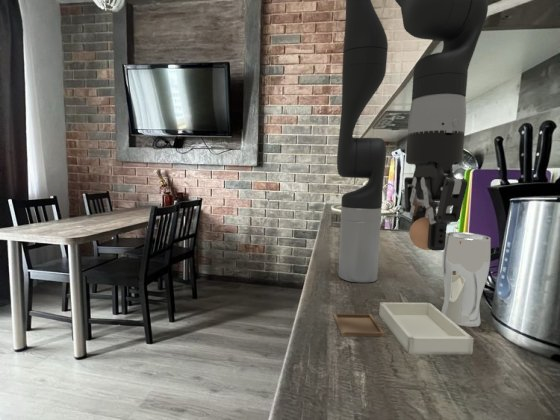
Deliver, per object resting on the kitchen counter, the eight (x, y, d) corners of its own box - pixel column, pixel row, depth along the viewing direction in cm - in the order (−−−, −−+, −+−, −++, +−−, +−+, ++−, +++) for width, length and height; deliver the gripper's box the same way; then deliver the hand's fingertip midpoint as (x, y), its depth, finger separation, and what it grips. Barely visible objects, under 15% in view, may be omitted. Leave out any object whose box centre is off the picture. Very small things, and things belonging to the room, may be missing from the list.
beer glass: (442, 307, 60) (449, 230, 58) (485, 318, 55) (494, 235, 53) (433, 320, 54) (440, 235, 52) (480, 334, 50) (489, 242, 48)
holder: (333, 318, 54) (333, 313, 54) (370, 318, 55) (370, 313, 55) (341, 338, 48) (341, 333, 48) (384, 338, 48) (384, 333, 48)
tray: (378, 316, 55) (379, 302, 55) (428, 316, 56) (430, 302, 55) (408, 356, 43) (409, 338, 43) (472, 356, 44) (473, 338, 43)
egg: (402, 245, 50) (405, 214, 50) (433, 246, 50) (435, 215, 50) (417, 253, 45) (419, 219, 45) (451, 254, 46) (454, 220, 45)
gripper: (391, 136, 53) (385, 235, 55) (435, 123, 39) (425, 257, 41) (435, 137, 53) (427, 236, 55) (494, 125, 39) (481, 258, 41)
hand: (426, 244), depth 48 cm, fingers closed on egg, 5 cm apart
